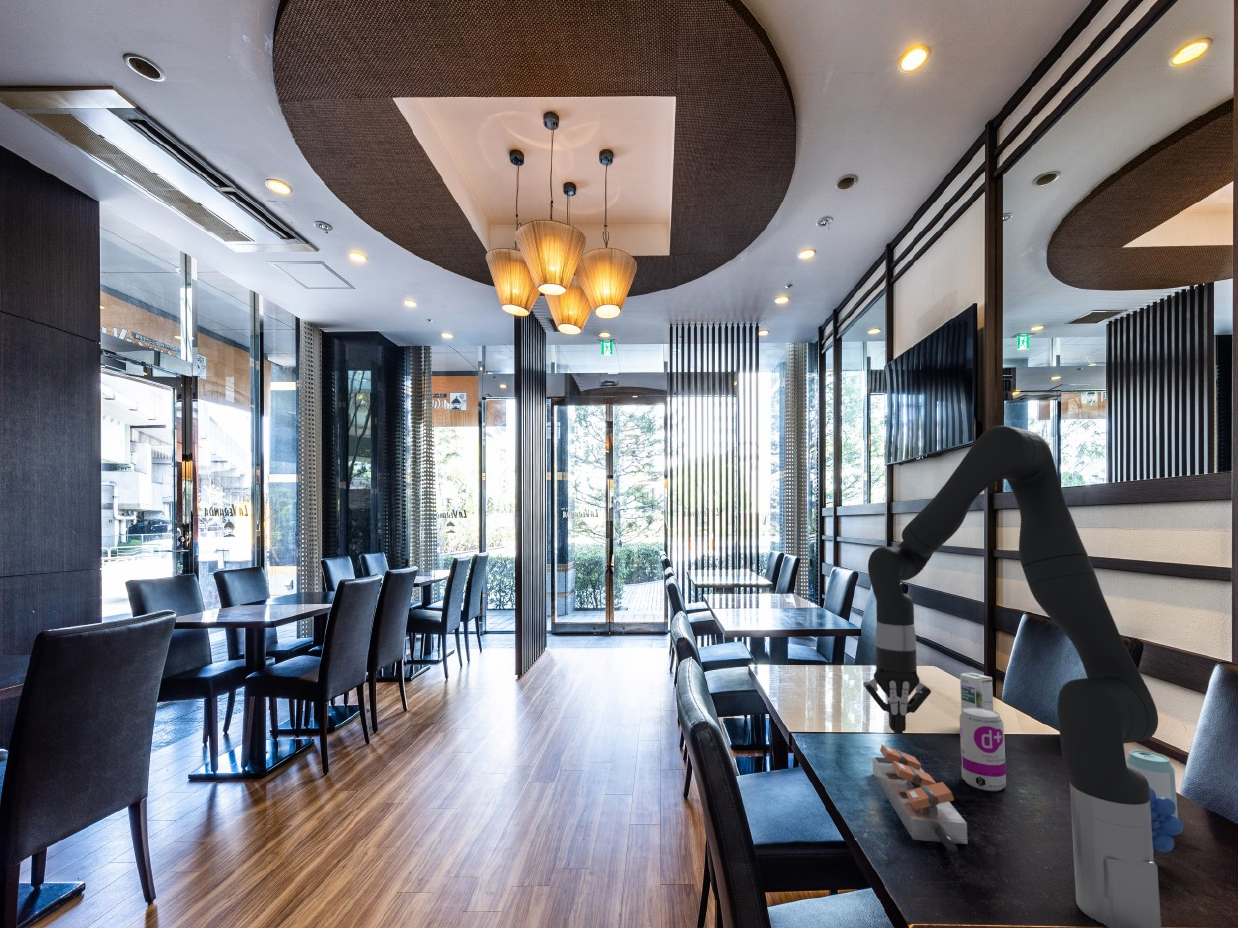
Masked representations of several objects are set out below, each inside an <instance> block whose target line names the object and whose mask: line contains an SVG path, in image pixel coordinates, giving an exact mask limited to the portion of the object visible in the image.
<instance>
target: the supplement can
mask: <svg viewBox="0 0 1238 928" xmlns="http://www.w3.org/2000/svg"><path fill="white" fill-rule="evenodd" d="M1004 724H1005V723H1004V721H1003V719H1002V718H1001V715H1000V713H999V712H997V711H995V710H993V711H992V710H989V709H985V708H977V707H967V708H963V711H962V713H960V715H959V737H960V738H959V739H960V760H961V761H960V762H961V764H960V765H961V777H962V779H963V780H964V781H965V783H966V784H968V785H969V786H970V787H973V788H976V789H978V790H983V791H988V792H989V791H990V792H997V791H998V792H999V791H1001V790H1003V789H1004V788H1005V787H1006V786H1007V770H1006V768H1007V767H1006V750H1005V749H1006V748H1005V744H1006V743H1005V727H1004V726H1005V725H1004Z"/></svg>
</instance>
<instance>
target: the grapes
mask: <svg viewBox="0 0 1238 928" xmlns="http://www.w3.org/2000/svg"><path fill="white" fill-rule="evenodd" d="M1149 790H1150V809H1151V827H1152V843H1153V854H1154V853H1155V851H1157V852H1160V853H1169V852H1171V851H1172V850H1173V849H1174V848H1175V841H1174V838H1173V837H1172V836H1175V837H1176V836H1178V835H1180V834H1181V833H1182V832H1183V829H1184V825H1183V822H1182V820H1181V819H1180V818H1179V817H1178V818H1177V817H1174V816H1171V815H1173V814H1174V813H1175V810H1176V806H1175V804H1174V802H1173V801H1172V800H1171V799H1169V798H1166V797H1159V798H1157V799H1156V793H1155V791H1154V790H1153V789H1152V788H1151V787H1149ZM1154 849H1155V850H1154Z"/></svg>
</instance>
